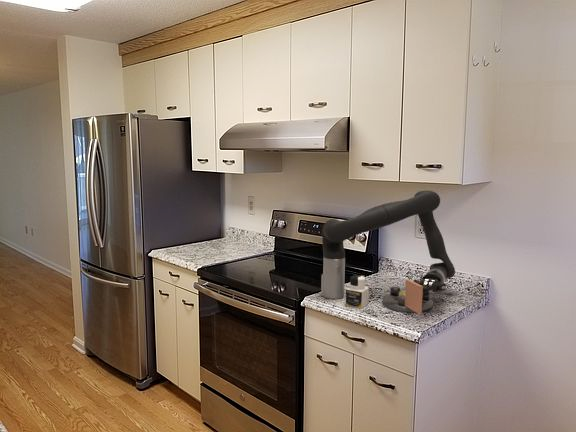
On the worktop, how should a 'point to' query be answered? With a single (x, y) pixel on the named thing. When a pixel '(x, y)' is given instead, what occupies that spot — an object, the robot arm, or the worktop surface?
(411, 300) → the terracotta flat panel
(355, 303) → the medicine bottle
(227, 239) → the worktop surface
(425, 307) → the levelling base
